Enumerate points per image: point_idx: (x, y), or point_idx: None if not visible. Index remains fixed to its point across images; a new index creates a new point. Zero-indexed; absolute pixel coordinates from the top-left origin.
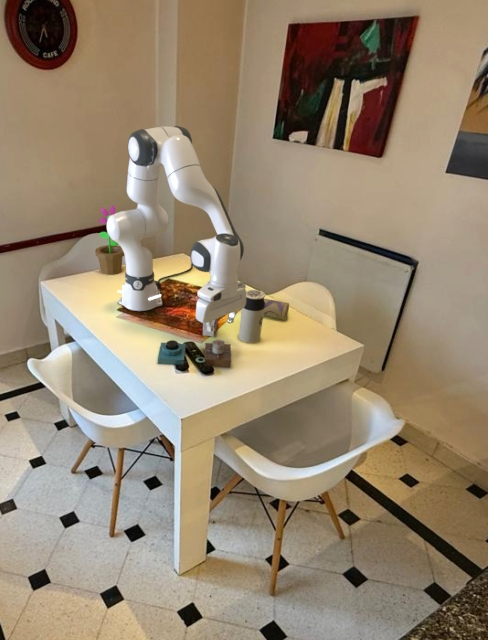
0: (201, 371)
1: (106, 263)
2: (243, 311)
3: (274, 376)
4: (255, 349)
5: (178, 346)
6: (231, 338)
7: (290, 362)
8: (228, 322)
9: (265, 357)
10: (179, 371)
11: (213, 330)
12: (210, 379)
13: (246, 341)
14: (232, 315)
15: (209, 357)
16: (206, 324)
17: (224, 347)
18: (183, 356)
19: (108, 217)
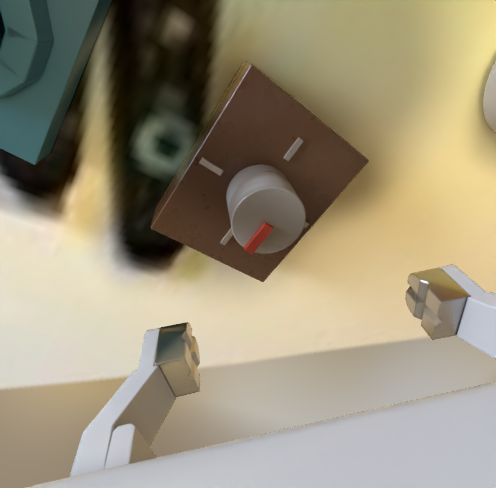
0: (125, 234)
1: None
2: None
3: (346, 340)
4: (452, 186)
5: (7, 21)
6: (474, 15)
7: None
8: (410, 286)
9: (424, 251)
10: (10, 193)
11: (198, 351)
12: (138, 291)
13: (486, 116)
14: (491, 338)
15: (182, 226)
16: (120, 394)
17: (316, 176)
18: (42, 127)
19: None
